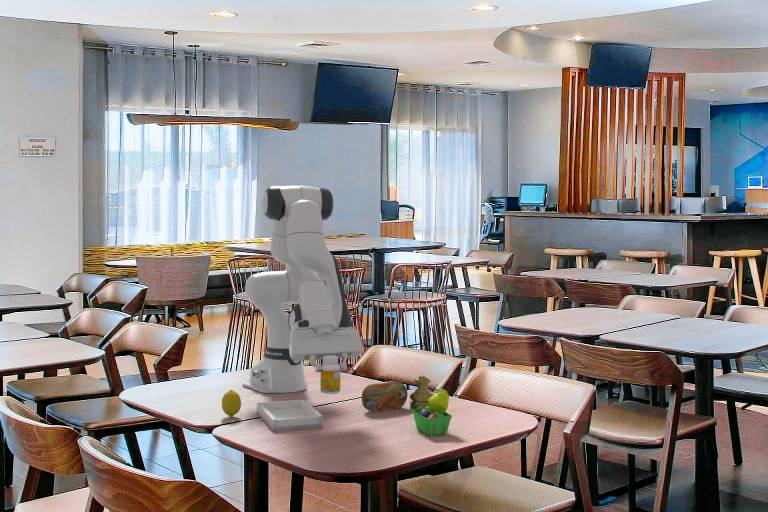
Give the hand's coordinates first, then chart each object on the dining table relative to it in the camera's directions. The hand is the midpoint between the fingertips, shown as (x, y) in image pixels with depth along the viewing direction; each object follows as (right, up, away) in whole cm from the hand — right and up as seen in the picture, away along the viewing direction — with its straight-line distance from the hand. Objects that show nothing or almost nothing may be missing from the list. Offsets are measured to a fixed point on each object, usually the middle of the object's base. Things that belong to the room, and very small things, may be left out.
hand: (331, 370), depth 247 cm
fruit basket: (+28, -17, +2) cm, 33 cm away
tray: (-13, -16, +14) cm, 25 cm away
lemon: (-30, -16, +18) cm, 38 cm away
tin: (+14, -15, +26) cm, 34 cm away
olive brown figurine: (+26, -15, +27) cm, 40 cm away
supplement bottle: (0, -6, +1) cm, 6 cm away
